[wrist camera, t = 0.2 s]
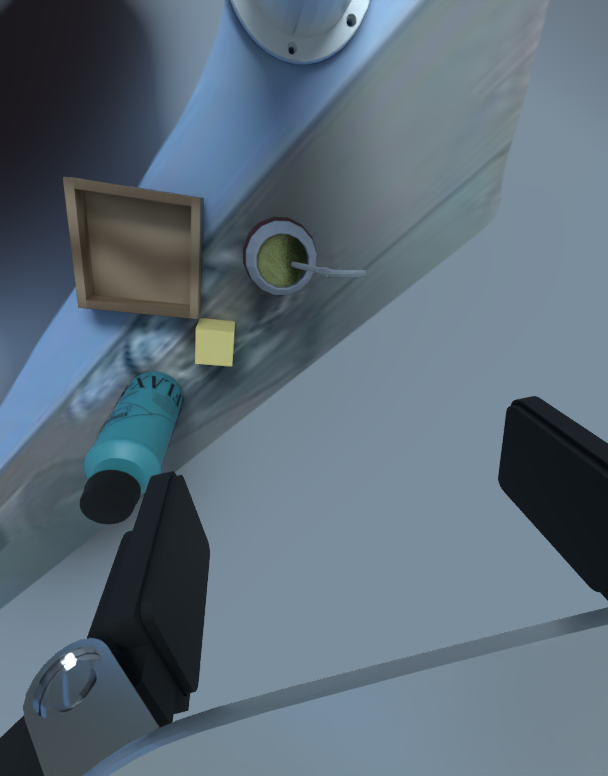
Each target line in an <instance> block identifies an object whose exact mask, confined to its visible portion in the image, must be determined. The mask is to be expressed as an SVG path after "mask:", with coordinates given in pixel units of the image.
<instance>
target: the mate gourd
mask: <svg viewBox="0 0 608 776" xmlns="http://www.w3.org/2000/svg"><path fill="white" fill-rule="evenodd" d="M316 255H317V253H316V248H315V245H314V242H313V239H312V236H311V235H310V234H309V233H308V232H307V230H306V229H305V228H304V227H303V226H302V224H300V223H298V222H296V221H294V220H292V219H290V218H284V217H272V218H270V219H267V220H265V221H262V222H260V223H258V224H257V225H256V226H255V227H254V228H253V229H252V230H251V232H250V233H249V234H248V237H247V239H246V242H245V245H244V247H243V263H244V266H245V268H246V271H247V273H248V275H249V278H250V279H251V280H252V281H253V282H254V283H255V284H256V285H257V286H258V287H259V288H260V289H262V290H264V291H266V292H269V293H271V294H273V295H289V294H291V293H294V292H296V291H299V290H301V289H302V288H303V287H304V286H305V285H306V284H307V283H308V282H309V281H310V279H311V277H312V275H313V273H317V274H320V276H323V277H328V278H330V277H366V270H332V268H328V267H321V268H320V267H316Z"/></svg>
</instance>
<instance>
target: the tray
mask: <svg viewBox="0 0 608 776" xmlns="http://www.w3.org/2000/svg"><path fill="white" fill-rule="evenodd" d="M63 182H64V189H65V199H66V207H67V216H68V224H69V232H70V241H71V249H72V257H73V266H74V275H75V283H76V291H77V300H78V308H87V309H98V310H108V311H119V312H129V313H139V314H150V315H160V316H171V317H181V318H191V319H198V317H199V314H200V312H201V274H202V234H203V198H200V197H194V196H188V195H181V194H175V193H168V192H162V191H156V190H149V189H143V188H137V187H130V186H124V185H117V184H111V183H105V182H98V181H92V180H85V179H79V178H71V177H63Z"/></svg>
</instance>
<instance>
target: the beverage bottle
mask: <svg viewBox="0 0 608 776" xmlns="http://www.w3.org/2000/svg"><path fill="white" fill-rule="evenodd" d="M131 381H132V382H131V383H130V385H129V386H128V385H127V386H128V388H127V387H126V388H127V390H126V391H125V390H124V391H125V393H124V392H123V393H122V395H123V394H124V395H123V396H122V395H121V396H122V398H119V400H118V401H119V403H118V402H117V403H118V405H117V404H116V405H117V406H116V408H115V410H114V412H113V413H111V414H112V415H111V414H110V418H109V419H108V422H107V420H106V421H105V423H106V425H105V427H104V428H103V427H102V428H103V430H102V432H101V433H100V432H99V433H100V435H99V437H98V439H97V441H96V442H95V444H94V446H93V447H92V449H91V450H90V451H89V452H88V454H87V456H86V458H85V461H84V471H85V475H86V477H87V479H88V481H87V483H86V485H85V487H84V491H83V494H82V496H81V499H80V508H81V511H82V512H83V514H84V515H85V516H86V517H87V518H89V519H90V520H92V521H95V522H97V523H101V524H115V523H119V522H122V521H124V520H125V519H127V518H128V517H129V516H130V515H131V513H132V512H133V510H134V507H135V505H136V504H137V502H138V500H139V497H140V495H141V494H143V493H145V492H146V489H147V486H148V483H149V480H150V478H151V476H153V475H157V474H161V468H162V464H163V461H164V458H165V454H166V451H167V448H168V444H169V441H170V438H171V435H172V433H173V430H174V427H175V425H177V424H175V423H176V420H177V417H178V415H179V412H180V411H181V409H182V408H181V409H180V407H181V404H182V402H183V401H184V400H183V401H182V398H183V397H184V396H182V392H183V391H181V388H180V385H179V384H178V383H177V381H176V380H175V379H174V378H172V377H171V376H169V375H167V374H165V373H162V372H154V371H152V372H146V373H142V374H141V375H140V374H139V376H138V375H137V377H136V378H134V379H133V380H131ZM126 388H125V389H126ZM120 399H121V400H120ZM183 399H184V398H183ZM113 409H114V408H113ZM179 410H180V411H179ZM108 417H109V416H108ZM177 422H178V420H177ZM100 431H101V430H100Z"/></svg>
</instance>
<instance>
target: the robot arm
mask: <svg viewBox="0 0 608 776" xmlns="http://www.w3.org/2000/svg"><path fill="white" fill-rule="evenodd" d="M230 1H231V3H232V6H233V9H234V11H235V14H236V15H237V17H238V19H239V20H240V22H241V24H242V26H243V27H244V29H245V30H246V32H247V33H248V34H249V35H250V37H251V38H252V39H253V40H254V42H255V43H256V44H258V45H259V46H260V47H261V48H262V49H263V50H265V51H266V52H267V53H268V54H270V55H272V56H274V57H276V58H277V59H279V60H282V61H285V62H288V63H292V64H305V65H307V64H312V63H317V62H320V61H323V60H325V59H327V58H329V57H331V56H333V55H334V54H335V53H337V52H338V51H339V50H340V49H342V48H343V47H344V46H345V45H346V43H347V42H348V41H349V40H350V39H351V38H352V36H353V35H354V34H355V32H356V31H357V29H358V28H359V26H360V24H361V22H362V20H363V18H364V16H365V14H366V12H367V10H368V7H369V4H370V1H371V0H230ZM347 21H350V22H351V27H349V26H348V25H347ZM290 48H292V49H293V50H294V54H290V53H289V49H290ZM498 481H499V484H500V487H501V488H502V490H503V491H504V492H505V493H506V494H507V496H508V497H509V498H510V499H511V500H512V501H513V502H514V503H515V504H516V506H517V507H518V508H519V509H520V510H521V511H522V512H523V513H524V514H525V516H526V517H527V518H528V519H529V520H530V521H531V522H532V523H533V524H534V526H535V527H536V528H537V529H538V530H539V531H540V532H541V533H542V535H544V537H545V538H546V539H547V540H548V541H549V542H550V543H551V545H552V546H553V547H554V548H555V549H556V550H557V551H558V552H559V553H560V554H561V556H562V557H563V558H564V559H565V560H566V561H567V562H568V563H569V565H570V566H571V567H572V568H573V569H574V570H575V571H576V572H577V573H578V575H579V576H580V577H581V578H582V579H583V580H584V581H585V582H586V584H588V586H589V587H590V588H591V589H593V590H594V591H596V592H600V593H601V594H602V595H603V596H604V597H605V598H606V599H607V600H608V443H606V442H605V441H603V440H602V439H600V438H599V437H597V436H596V435H594V434H593V433H591V432H590V431H588V430H587V429H585V428H584V427H582V426H581V425H579V424H578V423H576V422H575V421H573V420H572V419H570V418H569V417H567V416H566V415H564V414H563V413H561V412H560V411H558V410H557V409H555V408H554V407H552V406H551V405H549V404H548V403H546V402H545V401H543V400H542V399H540V398H539V397H536V396H532V397H527V398H522V399H517V400H514V401H513V402H512V404H511V406H510V407H508V408H507V411H506V419H505V427H504V435H503V443H502V451H501V459H500V467H499V475H498ZM209 560H210V549H209V543H208V540H207V538H206V535H205V532H204V530H203V527H202V524H201V522H200V519H199V516H198V514H197V511H196V509H195V506H194V503H193V501H192V498H191V495H190V493H189V490H188V488H187V485H186V482H185V480H184V477H183V476H182V475H179V476H176V474H175V473H174V472H173V471H172V472H167V473H162V474H157V475H153V476H151V478H150V480H149V483H148V486H147V489H146V492H145V495H144V498H143V501H142V504H141V507H140V510H139V513H138V516H137V519H136V522H135V525H134V528H133V531H128V532H126V533H125V535H124V536H123V538H122V540H121V543H120V546H119V549H118V552H117V555H116V557H115V560H114V563H113V566H112V568H111V572H110V574H109V577H108V580H107V583H106V585H105V589H104V591H103V594H102V597H101V600H100V602H99V605H98V608H97V611H96V614H95V617H94V619H93V622H92V625H91V628H90V631H89V634H88V636H87V639H81V640H78V641H76V642H74V643H71V644H69V645H68V646H66V647H64V648H63V649H62V650H60V651H59V652H57V653H56V654H55V655H54V656H53V657H52V658H51V659H49V660H48V661H47V662H46V663H45V664H44V665H43V667H42V668H41V669H40V671H39V672H38V674H37V675H36V676H35V677H34V679H33V681H32V683H31V685H30V687H29V689H28V691H27V693H26V697H25V701H24V705H23V711H24V716H23V717H22V718H21V719H20V720H19V721H18V722H17V723H15V724H14V725H13V726H12V727H11V728H10V729H9V730H8V731H7V732H6V733H5V734H4V735H3V736H2V737H1V738H0V776H608V608H604V609H599V610H595V611H592V612H587V613H583V614H579V615H575V616H571V617H567V618H562V619H558V620H554V621H550V622H546V623H542V624H538V625H534V626H530V627H526V628H522V629H518V630H514V631H509V632H506V633H501V634H498V635H494V636H490V637H485V638H481V639H478V640H474V641H469V642H466V643H462V644H458V645H453V646H450V647H446V648H441V649H438V650H434V651H430V652H426V653H421V654H417V655H414V656H410V657H406V658H402V659H398V660H394V661H390V662H386V663H383V664H378V665H374V666H370V667H366V668H362V669H359V670H355V671H351V672H347V673H343V674H339V675H335V676H331V677H327V678H323V679H320V680H316V681H312V682H308V683H305V684H300V685H296V686H292V687H289V688H285V689H281V690H278V691H274V692H270V693H267V694H263V695H260V696H256V697H252V698H249V699H245V700H241V701H238V702H234V703H230V704H227V705H223V706H220V707H216V708H213V709H210V710H207V711H204V712H201V713H198V714H195V715H192V716H189V717H186V718H183V719H180V720H177V721H175V722H172V721H173V714H177V713H181V712H185V711H188V708H189V699H190V693H192V692H196V690H197V688H198V682H199V671H200V660H201V649H202V637H203V627H204V615H205V605H206V593H207V582H208V571H209Z"/></svg>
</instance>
